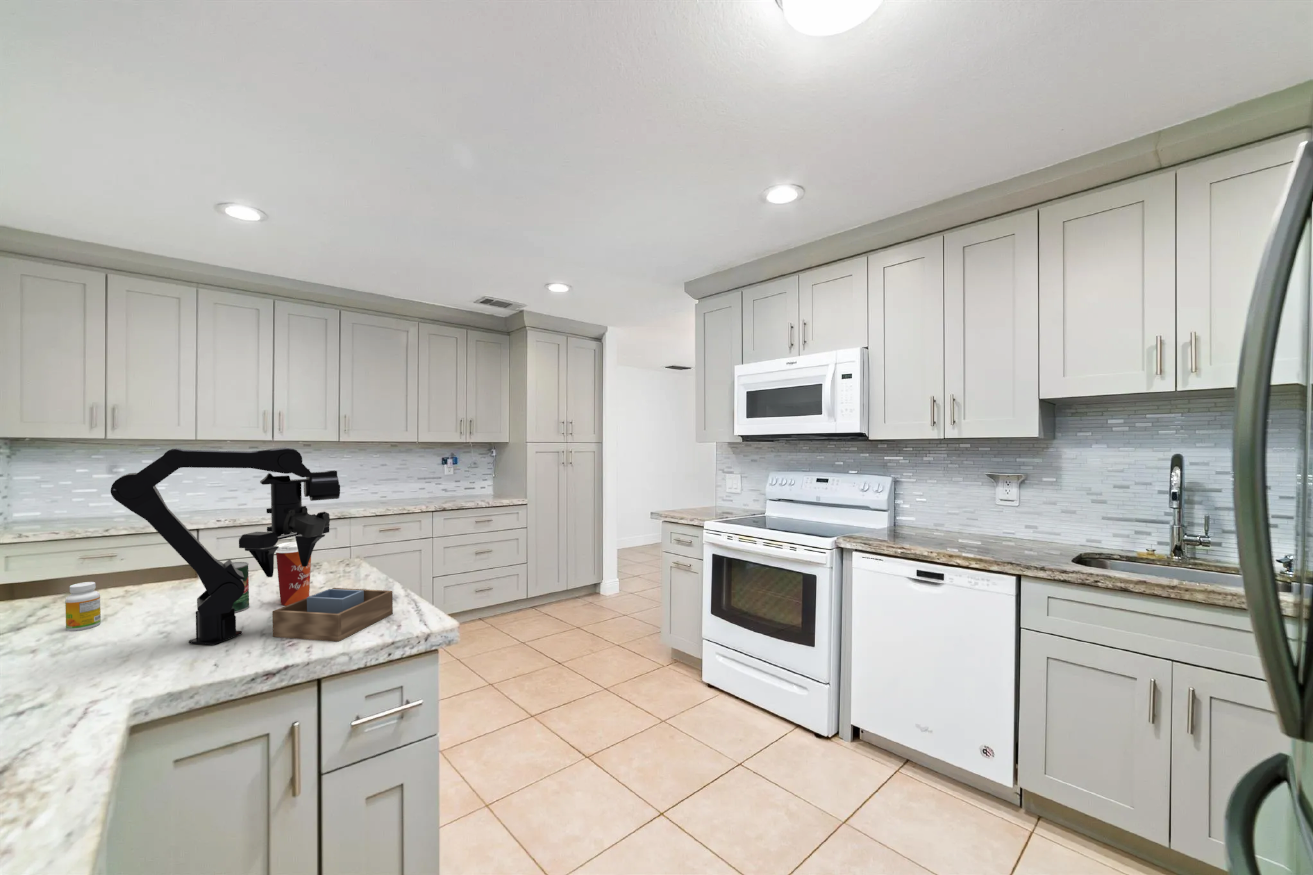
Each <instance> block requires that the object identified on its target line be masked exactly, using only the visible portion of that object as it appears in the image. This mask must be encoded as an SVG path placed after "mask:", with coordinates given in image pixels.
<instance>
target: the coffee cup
mask: <svg viewBox="0 0 1313 875" xmlns="http://www.w3.org/2000/svg"><path fill="white" fill-rule="evenodd" d="M276 546H279V547H278V549H277V550H276V551H275V553H274V554H275V558H276V566H277V580H278V591H279V599H280V605H281V606H283V607H285V606H287V605H290V604H293V603H295V602H298V601H300V600H303V599H306V598H307V597H309V596H310V586H311V568H312V567H311V566H312V565H311V564H312V556H311V557H310V560H309V562H308V565H307V566H306V567H303V566H302V564H301V561H300V557H299V552H298V548H297V543H296V541H290V542H289V541H288V542H283V543H279V544H277V545H276Z"/></svg>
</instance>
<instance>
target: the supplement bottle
mask: <svg viewBox="0 0 1313 875" xmlns="http://www.w3.org/2000/svg"><path fill="white" fill-rule="evenodd" d="M69 593H71V594H69V595H68V596H66V597H65V603H64V604H65V605H64V606H65V607H64V608H65V630H66V631H69V632H78V631H83V630H88V629H92V628H95V627H97V626H99V625H100V624H101V622H102V619H101V618H102V617H101V594H100V592H99V591H97V590H96V582H94V581H85V582H78V583H75V584H72V585H70V586H69Z"/></svg>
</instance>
